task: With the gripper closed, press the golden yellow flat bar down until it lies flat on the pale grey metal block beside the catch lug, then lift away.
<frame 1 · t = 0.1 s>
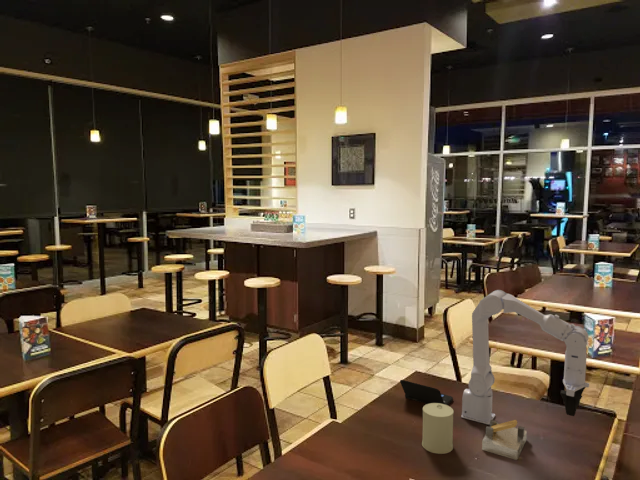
hand: (572, 410, 147), 10 cm above the table, tool pointing down, fingers open, 7 cm apart
catch lug: (520, 435, 146), resting on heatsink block
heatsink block: (504, 444, 146), on the table
can: (437, 446, 146), on the table
golden yellow flat bar: (502, 426, 146), point 6 cm above the table, hinge at 30.0°
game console: (426, 402, 176), on the table
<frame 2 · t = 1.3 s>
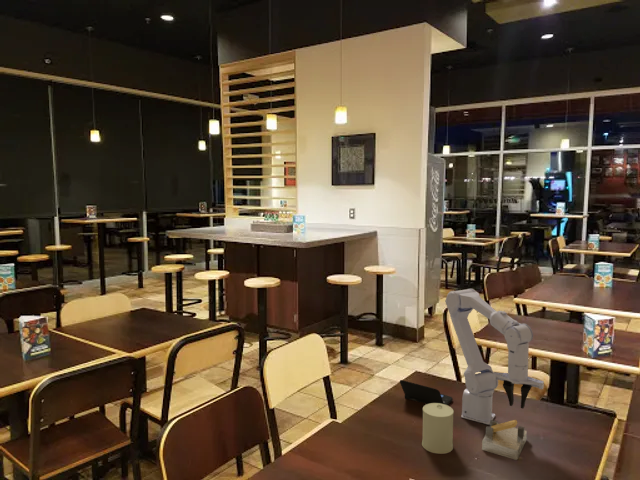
hand: (517, 405, 149), 10 cm above the table, tool pointing down, fingers open, 3 cm apart
nothing on the table moved.
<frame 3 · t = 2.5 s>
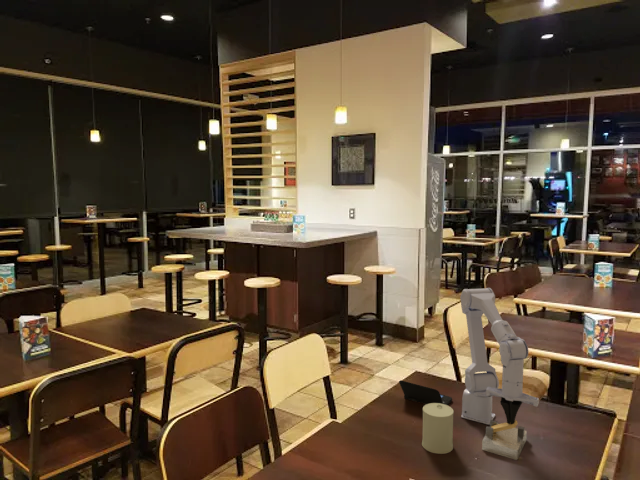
hand: (510, 422, 144), 8 cm above the table, tool pointing down, fingers closed
golden yellow flat bar: (502, 426, 146), point 6 cm above the table, hinge at 28.8°, touching gripper
everything else where it was.
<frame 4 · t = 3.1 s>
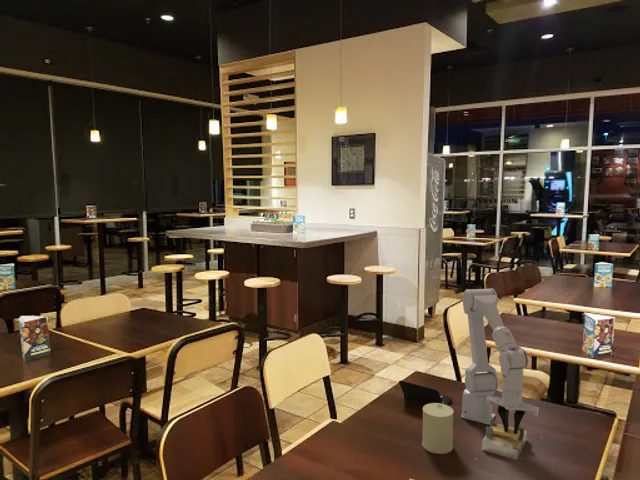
hand: (510, 431, 145), 5 cm above the table, tool pointing down, fingers closed on golden yellow flat bar, 2 cm apart
golden yellow flat bar: (504, 431, 146), point 4 cm above the table, hinge at 5.4°, touching gripper
everything else where it was.
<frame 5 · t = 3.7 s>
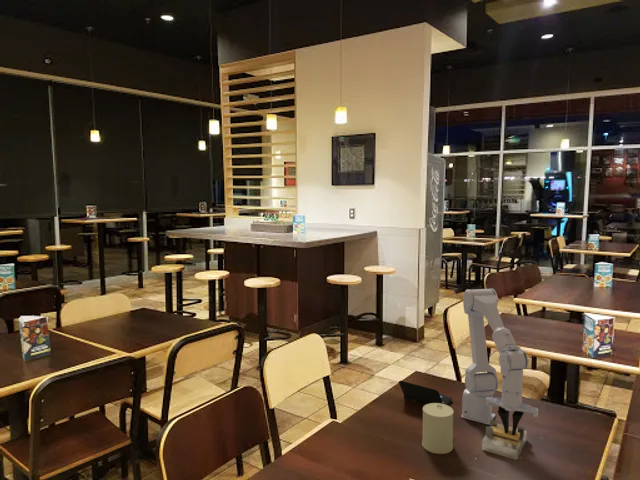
hand: (510, 432, 145), 4 cm above the table, tool pointing down, fingers closed
golden yellow flat bar: (504, 432, 146), point 4 cm above the table, hinge at 0.4°
everything else where it was.
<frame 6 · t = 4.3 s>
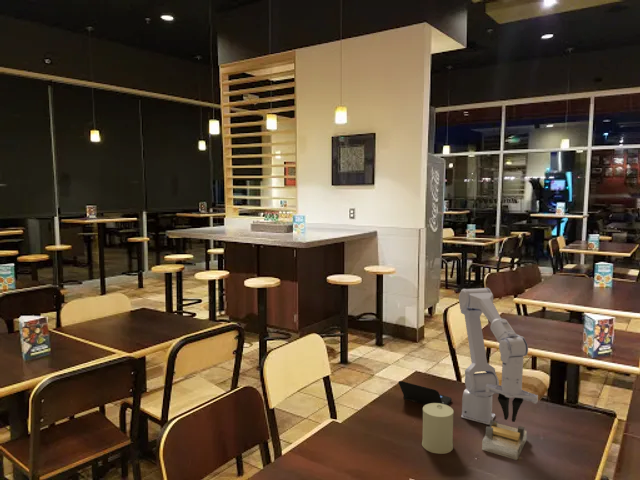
hand: (510, 419, 145), 8 cm above the table, tool pointing down, fingers closed
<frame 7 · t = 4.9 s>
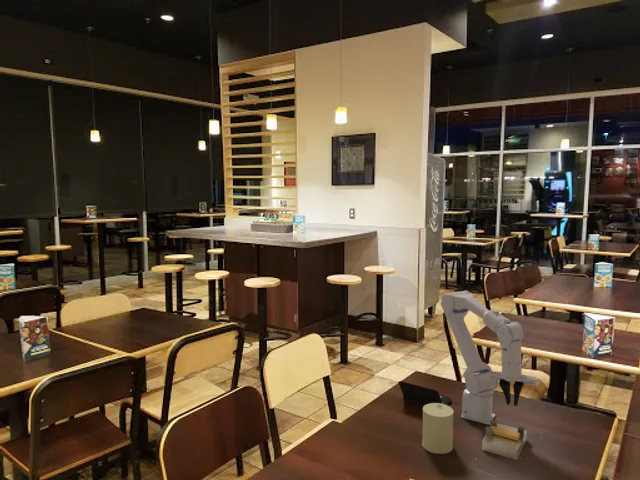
hand: (512, 404, 150), 10 cm above the table, tool pointing down, fingers closed
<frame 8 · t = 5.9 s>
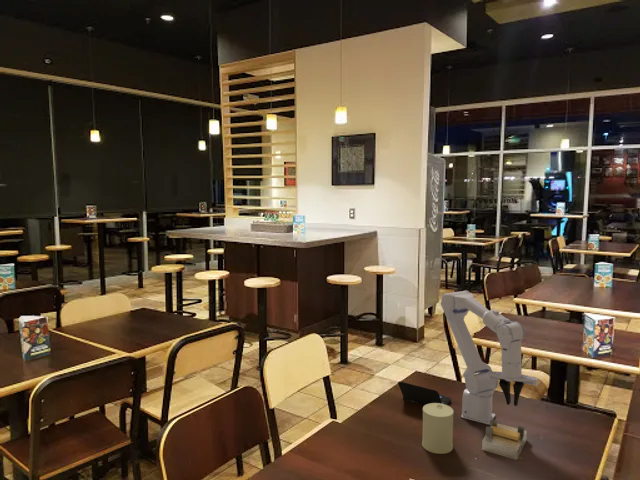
hand: (512, 404, 150), 10 cm above the table, tool pointing down, fingers closed
at the end: golden yellow flat bar at +0° (first picture: +30°); the gripper is holding nothing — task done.
